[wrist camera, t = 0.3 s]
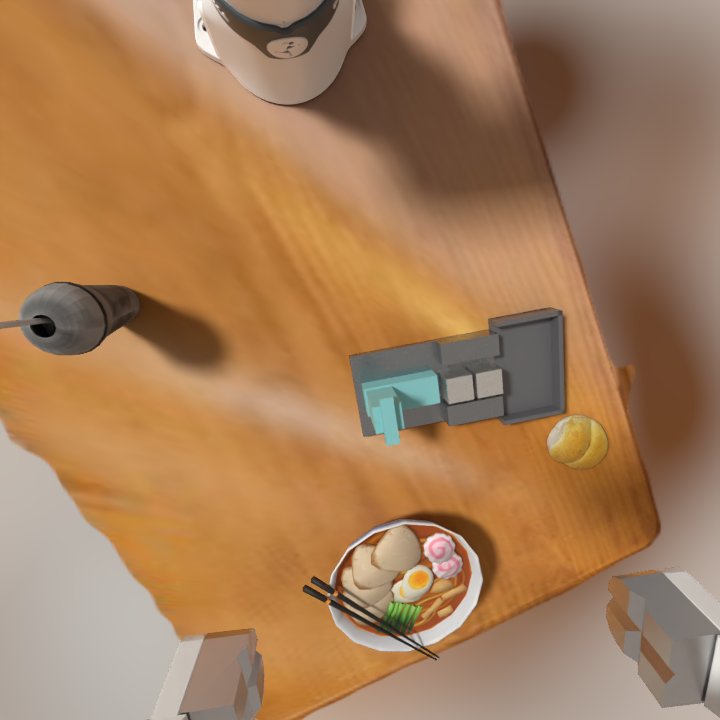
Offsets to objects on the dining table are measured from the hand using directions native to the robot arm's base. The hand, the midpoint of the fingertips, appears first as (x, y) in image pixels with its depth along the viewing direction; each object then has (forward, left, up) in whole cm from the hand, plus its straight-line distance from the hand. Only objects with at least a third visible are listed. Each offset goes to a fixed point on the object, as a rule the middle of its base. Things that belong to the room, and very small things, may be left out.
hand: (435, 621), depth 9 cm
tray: (+12, +25, -47) cm, 55 cm away
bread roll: (+26, +33, -48) cm, 63 cm away
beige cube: (+12, +14, -46) cm, 50 cm away
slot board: (+12, +11, -47) cm, 50 cm away
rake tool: (+12, +7, -46) cm, 48 cm away
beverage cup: (-6, -26, -47) cm, 54 cm away
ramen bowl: (+40, +3, -47) cm, 62 cm away
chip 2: (+12, +18, -46) cm, 51 cm away
